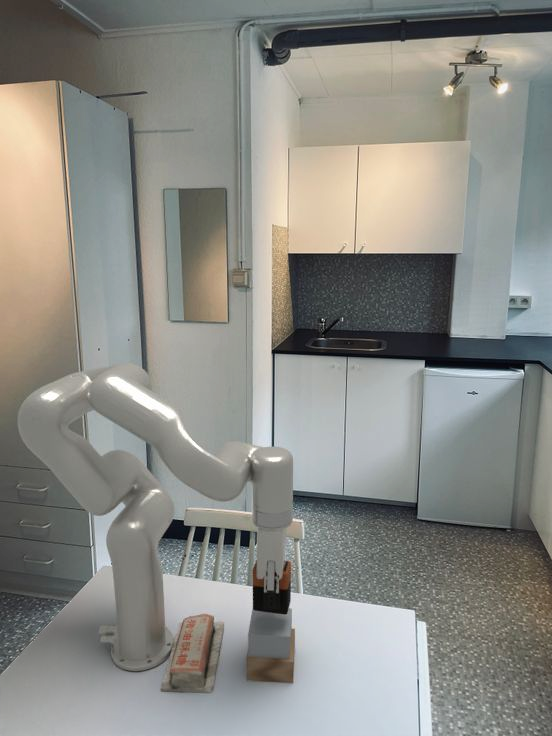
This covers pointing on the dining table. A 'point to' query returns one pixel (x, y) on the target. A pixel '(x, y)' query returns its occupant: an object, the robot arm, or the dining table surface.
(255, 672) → the bottom block
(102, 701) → the dining table surface
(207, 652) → the packaged product
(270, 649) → the top block
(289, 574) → the battery
